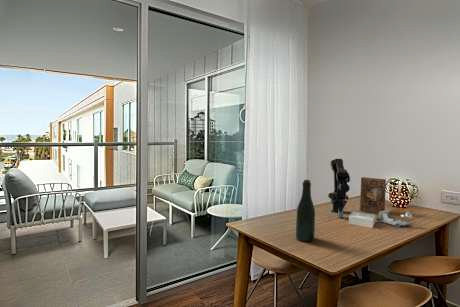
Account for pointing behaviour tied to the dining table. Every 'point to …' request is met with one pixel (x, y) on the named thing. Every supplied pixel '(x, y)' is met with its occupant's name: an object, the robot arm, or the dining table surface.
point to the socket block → (362, 219)
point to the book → (372, 195)
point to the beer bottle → (305, 215)
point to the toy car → (387, 218)
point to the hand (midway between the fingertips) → (340, 211)
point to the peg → (340, 214)
